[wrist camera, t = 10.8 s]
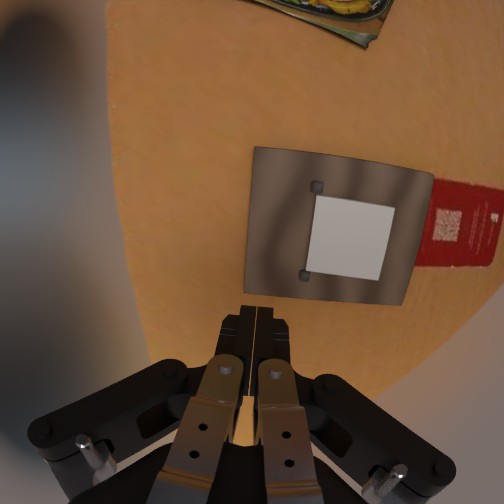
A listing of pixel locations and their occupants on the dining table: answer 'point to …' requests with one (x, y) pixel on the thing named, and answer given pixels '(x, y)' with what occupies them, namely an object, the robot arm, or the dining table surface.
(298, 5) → the prepared meal
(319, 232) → the tile
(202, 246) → the dining table surface
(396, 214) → the walnut board
